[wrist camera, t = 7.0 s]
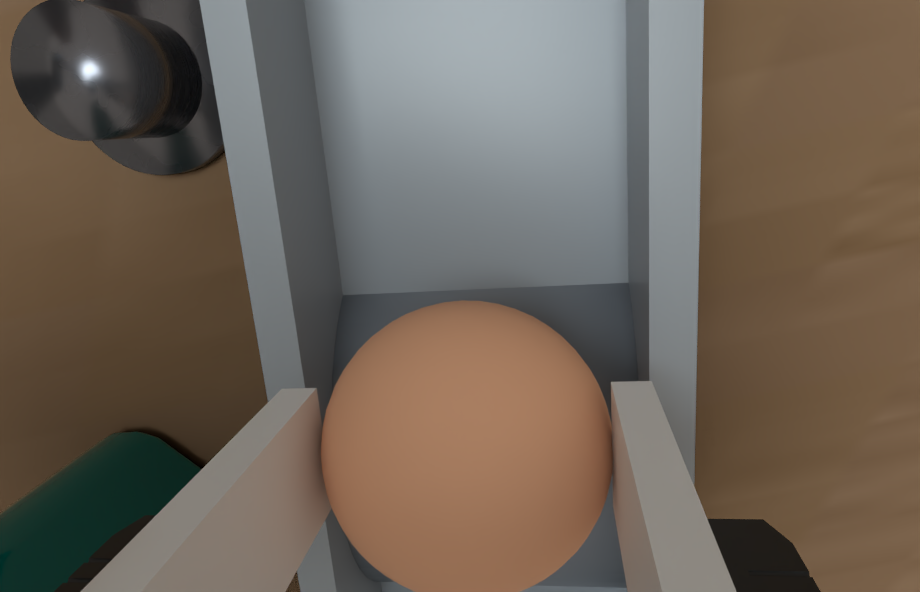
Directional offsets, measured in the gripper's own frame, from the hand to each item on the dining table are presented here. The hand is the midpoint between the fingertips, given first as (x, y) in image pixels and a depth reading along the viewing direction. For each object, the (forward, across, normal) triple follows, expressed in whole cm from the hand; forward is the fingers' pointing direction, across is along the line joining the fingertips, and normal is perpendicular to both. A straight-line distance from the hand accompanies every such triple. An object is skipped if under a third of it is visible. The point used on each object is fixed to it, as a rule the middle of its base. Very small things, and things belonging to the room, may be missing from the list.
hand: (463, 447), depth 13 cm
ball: (+4, 0, 0) cm, 4 cm away
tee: (+9, -11, +8) cm, 16 cm away
